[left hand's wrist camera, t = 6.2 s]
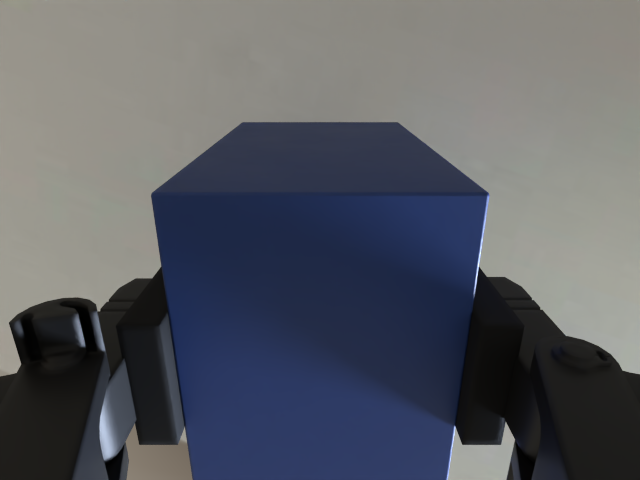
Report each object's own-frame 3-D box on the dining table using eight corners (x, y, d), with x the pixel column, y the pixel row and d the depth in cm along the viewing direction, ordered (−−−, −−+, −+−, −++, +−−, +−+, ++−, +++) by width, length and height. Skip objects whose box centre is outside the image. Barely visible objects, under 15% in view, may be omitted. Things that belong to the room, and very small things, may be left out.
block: (252, 300, 18) (195, 505, 10) (241, 121, 16) (148, 192, 7) (387, 300, 18) (444, 505, 10) (398, 122, 16) (490, 193, 7)
